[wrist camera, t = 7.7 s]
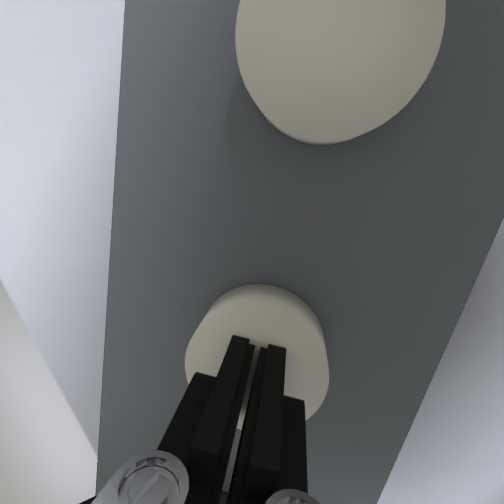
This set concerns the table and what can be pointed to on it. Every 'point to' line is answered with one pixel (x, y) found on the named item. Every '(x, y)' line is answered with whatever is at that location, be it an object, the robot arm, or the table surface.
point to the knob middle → (264, 340)
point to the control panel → (295, 232)
